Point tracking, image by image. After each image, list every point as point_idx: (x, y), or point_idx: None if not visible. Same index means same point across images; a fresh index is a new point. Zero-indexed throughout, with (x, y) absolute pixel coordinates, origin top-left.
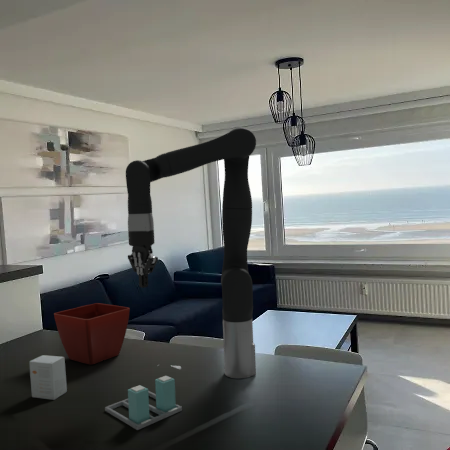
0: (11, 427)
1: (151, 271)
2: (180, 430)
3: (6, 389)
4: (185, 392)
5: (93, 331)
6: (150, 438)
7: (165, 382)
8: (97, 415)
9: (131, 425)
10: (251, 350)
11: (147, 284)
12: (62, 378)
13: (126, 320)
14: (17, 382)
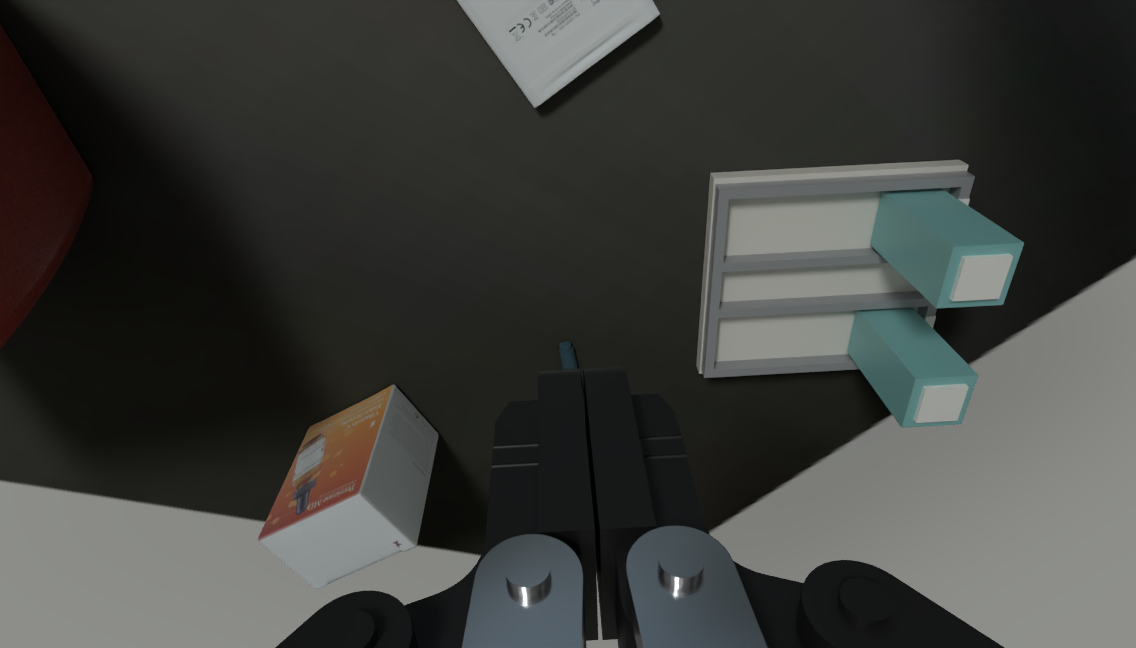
0: None
1: (910, 619)
2: (1025, 240)
3: (216, 509)
4: (816, 7)
5: (5, 279)
6: (961, 333)
7: (1005, 293)
8: (678, 379)
9: None
10: None
11: (664, 413)
12: (397, 442)
13: None
14: (158, 472)
